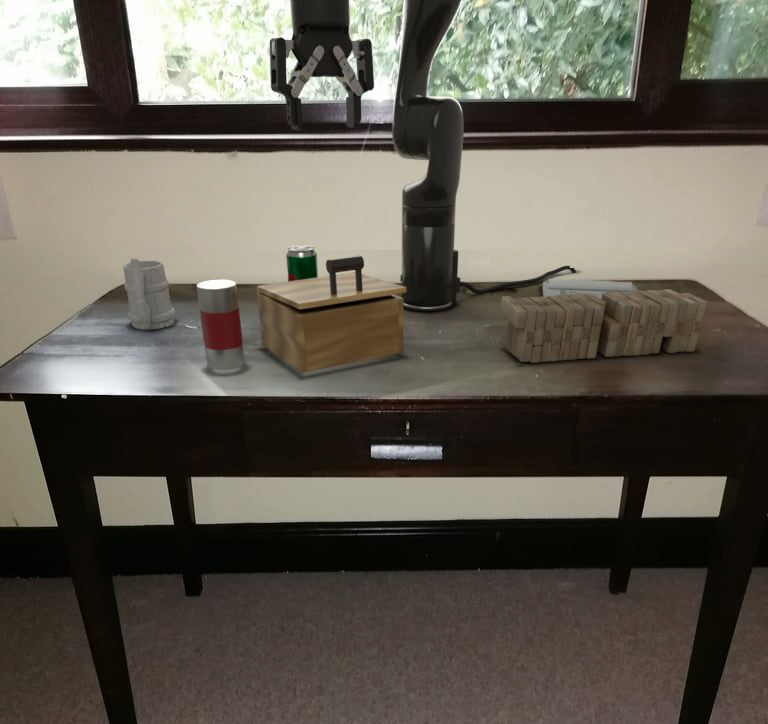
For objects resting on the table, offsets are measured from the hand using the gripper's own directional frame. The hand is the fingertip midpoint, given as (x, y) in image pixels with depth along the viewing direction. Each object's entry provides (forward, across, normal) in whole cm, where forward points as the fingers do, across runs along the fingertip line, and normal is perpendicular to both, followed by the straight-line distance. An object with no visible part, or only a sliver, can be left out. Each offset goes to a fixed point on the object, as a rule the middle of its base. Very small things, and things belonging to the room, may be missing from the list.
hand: (325, 128), depth 100 cm
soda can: (+30, +1, +13) cm, 33 cm away
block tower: (+30, +32, -25) cm, 50 cm away
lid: (+21, -3, -5) cm, 22 cm away
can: (+30, -19, -3) cm, 36 cm away
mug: (+30, -23, +23) cm, 44 cm away
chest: (+30, -3, -5) cm, 31 cm away
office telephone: (+30, +51, -6) cm, 60 cm away
